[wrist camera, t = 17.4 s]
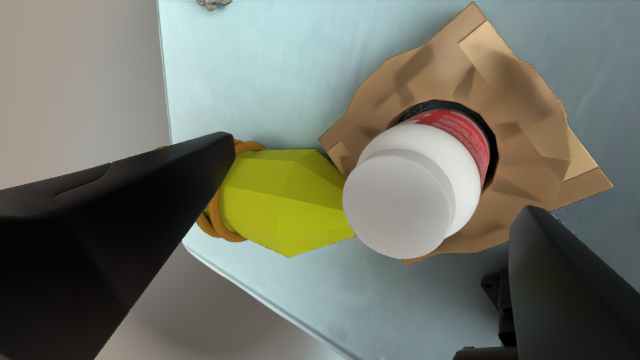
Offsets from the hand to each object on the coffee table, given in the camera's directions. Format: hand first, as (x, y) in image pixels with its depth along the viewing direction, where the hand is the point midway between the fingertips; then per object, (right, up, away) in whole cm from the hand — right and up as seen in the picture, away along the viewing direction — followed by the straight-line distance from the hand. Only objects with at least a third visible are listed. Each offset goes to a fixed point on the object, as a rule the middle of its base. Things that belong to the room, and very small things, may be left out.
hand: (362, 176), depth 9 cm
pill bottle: (+7, +2, +12) cm, 14 cm away
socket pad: (+7, +2, +12) cm, 14 cm away
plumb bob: (-5, 0, +21) cm, 21 cm away
